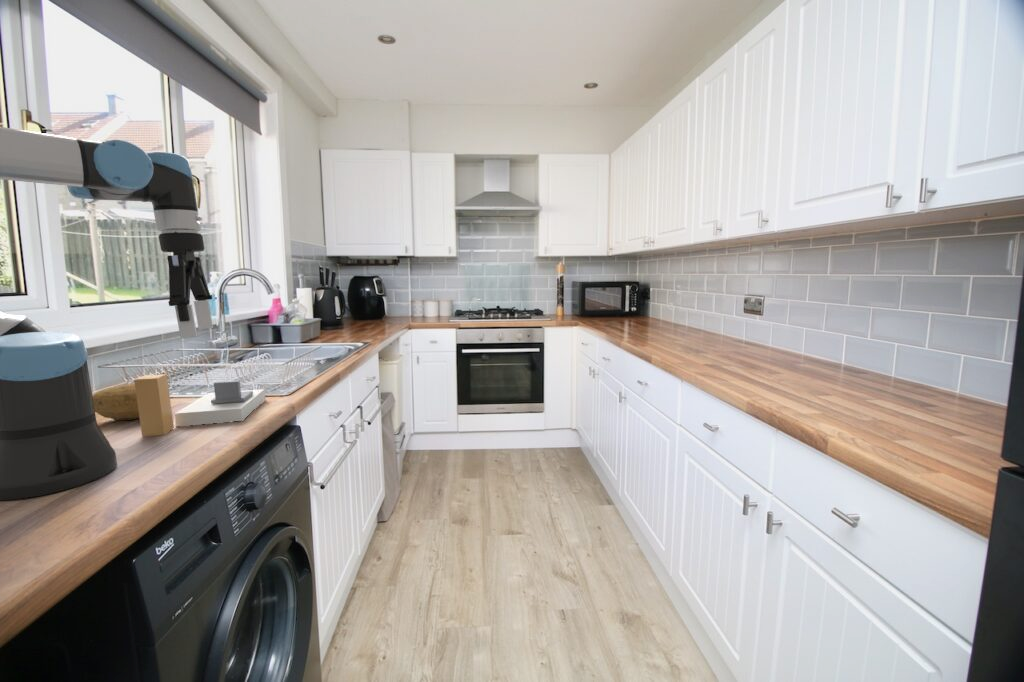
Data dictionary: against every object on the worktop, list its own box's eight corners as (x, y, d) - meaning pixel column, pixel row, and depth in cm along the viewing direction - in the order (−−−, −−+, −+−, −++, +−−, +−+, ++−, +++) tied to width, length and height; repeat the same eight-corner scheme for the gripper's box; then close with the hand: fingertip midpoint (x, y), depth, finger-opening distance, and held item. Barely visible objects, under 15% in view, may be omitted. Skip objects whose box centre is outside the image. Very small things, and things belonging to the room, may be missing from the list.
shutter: (243, 401, 105) (241, 381, 105) (211, 403, 104) (208, 383, 103) (253, 394, 112) (251, 375, 111) (222, 396, 110) (220, 377, 110)
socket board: (242, 421, 101) (240, 408, 100) (176, 426, 98) (174, 413, 97) (265, 400, 118) (264, 389, 118) (210, 404, 115) (208, 392, 115)
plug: (164, 434, 93) (157, 378, 91) (142, 436, 92) (134, 379, 90) (173, 428, 97) (166, 374, 95) (152, 430, 96) (145, 375, 94)
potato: (99, 418, 105) (94, 384, 104) (173, 408, 112) (169, 377, 111) (86, 430, 97) (80, 394, 96) (167, 418, 104) (162, 385, 102)
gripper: (183, 227, 84) (203, 339, 88) (215, 236, 107) (229, 324, 110) (134, 228, 81) (157, 343, 85) (177, 236, 104) (193, 327, 108)
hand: (198, 332), depth 98 cm, fingers open, 13 cm apart
